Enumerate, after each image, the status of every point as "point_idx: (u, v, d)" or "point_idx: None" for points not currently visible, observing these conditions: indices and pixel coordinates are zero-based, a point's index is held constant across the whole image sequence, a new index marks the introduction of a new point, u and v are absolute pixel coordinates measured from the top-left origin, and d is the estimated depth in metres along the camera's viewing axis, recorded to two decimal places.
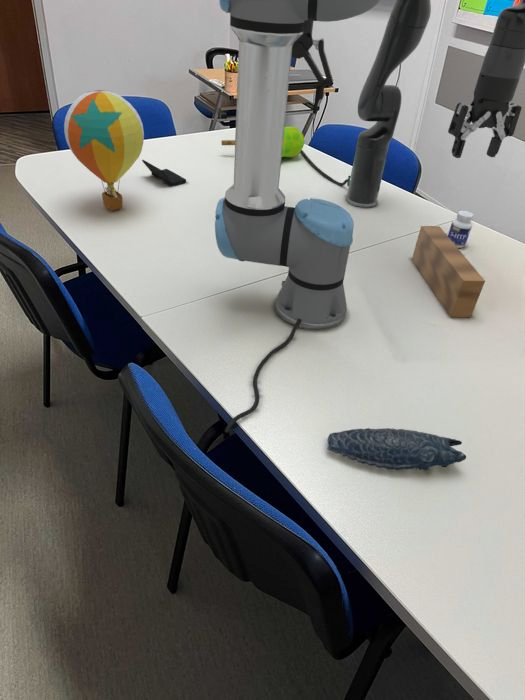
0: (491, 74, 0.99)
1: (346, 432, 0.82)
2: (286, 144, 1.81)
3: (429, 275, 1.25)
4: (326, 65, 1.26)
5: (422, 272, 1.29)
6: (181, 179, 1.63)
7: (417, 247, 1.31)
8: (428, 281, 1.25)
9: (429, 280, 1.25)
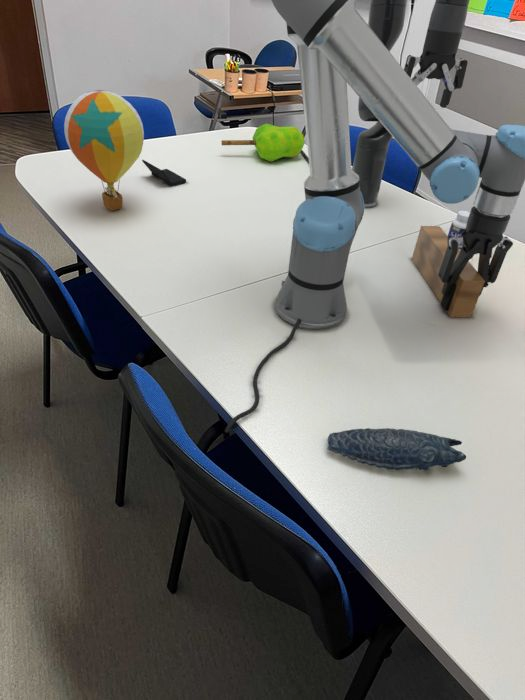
0: (434, 28, 1.13)
1: (346, 432, 0.82)
2: (286, 144, 1.81)
3: (429, 275, 1.25)
4: (500, 265, 1.10)
5: (422, 272, 1.29)
6: (181, 179, 1.63)
7: (417, 248, 1.31)
8: (428, 281, 1.25)
9: (429, 280, 1.25)
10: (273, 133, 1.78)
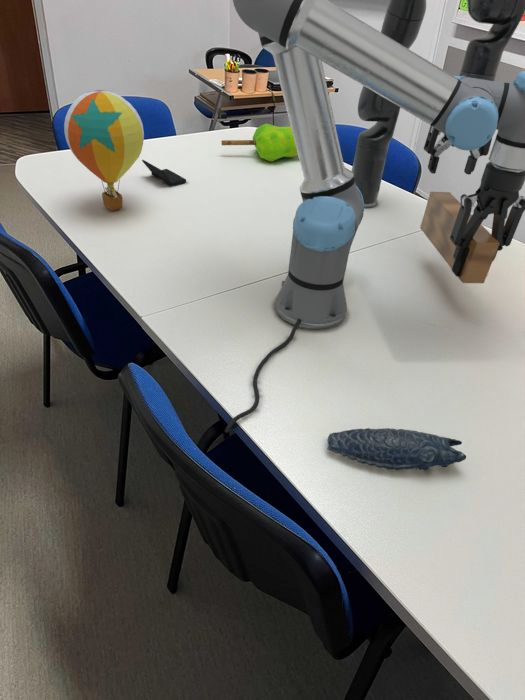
0: None
1: (346, 432, 0.82)
2: (286, 144, 1.81)
3: (439, 242, 1.19)
4: (515, 227, 1.04)
5: (431, 240, 1.23)
6: (181, 179, 1.63)
7: (426, 215, 1.26)
8: (438, 248, 1.20)
9: (439, 247, 1.19)
10: (273, 133, 1.78)
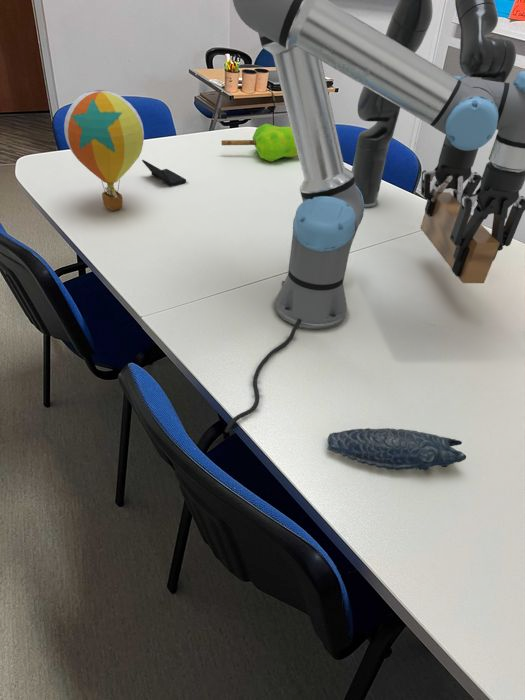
0: (450, 145, 1.12)
1: (346, 432, 0.82)
2: (286, 144, 1.81)
3: (439, 242, 1.19)
4: (515, 227, 1.04)
5: (432, 240, 1.23)
6: (181, 179, 1.63)
7: (426, 215, 1.26)
8: (438, 248, 1.20)
9: (439, 247, 1.19)
10: (273, 133, 1.78)
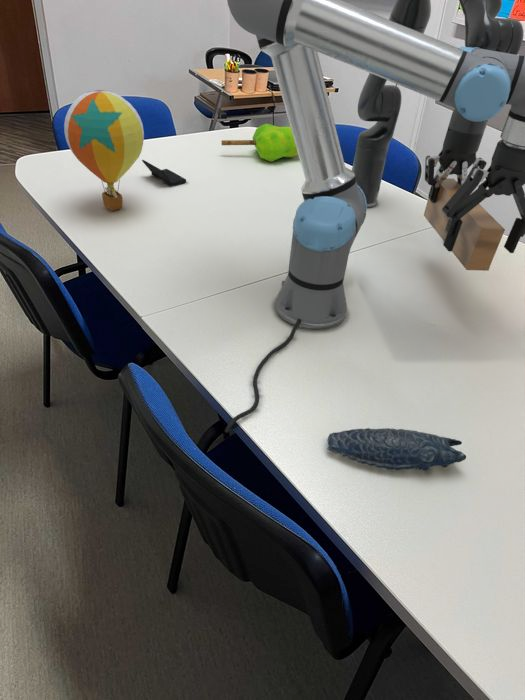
0: (455, 129, 1.10)
1: (346, 432, 0.82)
2: (286, 144, 1.81)
3: (443, 229, 1.18)
4: None
5: (435, 227, 1.21)
6: (181, 179, 1.63)
7: (429, 202, 1.24)
8: (442, 235, 1.18)
9: (443, 234, 1.18)
10: (273, 133, 1.78)
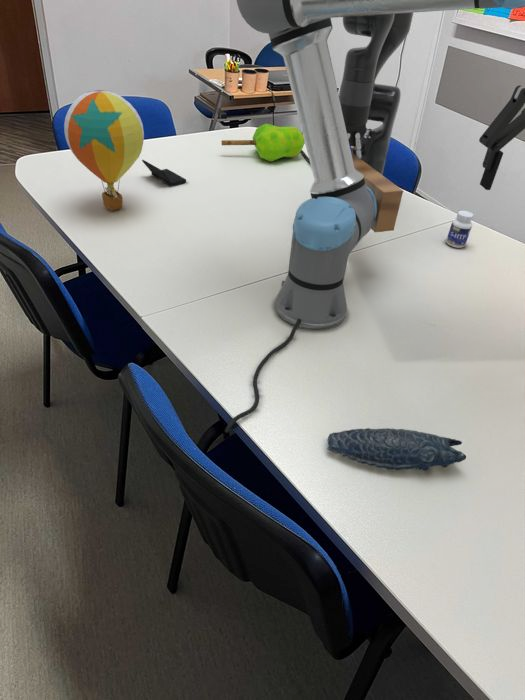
0: (345, 103, 1.18)
1: (346, 432, 0.82)
2: (286, 144, 1.81)
3: None
4: None
5: None
6: (181, 179, 1.63)
7: None
8: None
9: None
10: (273, 133, 1.78)
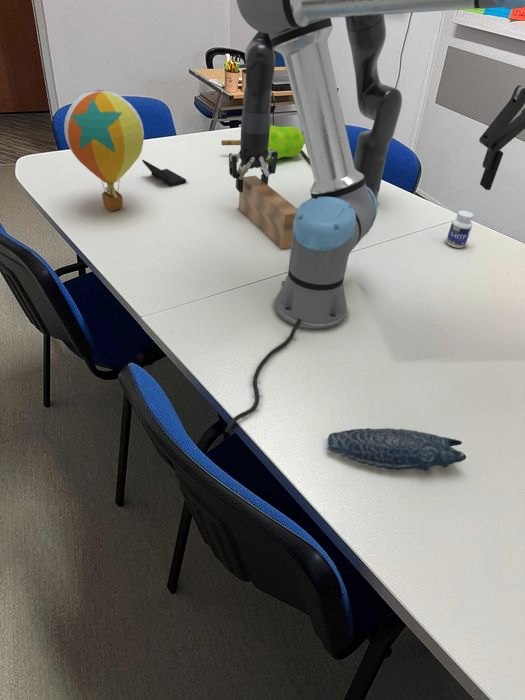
0: (247, 131, 1.33)
1: (346, 432, 0.82)
2: (286, 144, 1.81)
3: (257, 218, 1.42)
4: None
5: (250, 217, 1.46)
6: (181, 179, 1.63)
7: (241, 197, 1.48)
8: (257, 224, 1.43)
9: (257, 223, 1.42)
10: (273, 133, 1.78)
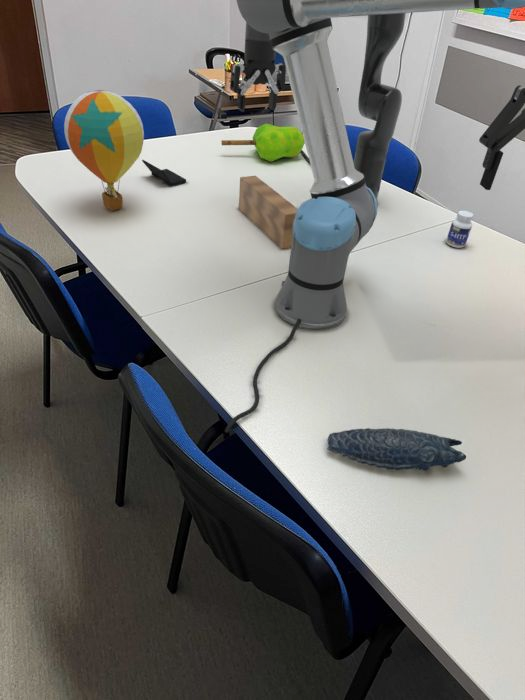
0: (252, 38, 1.20)
1: (346, 432, 0.82)
2: (286, 144, 1.81)
3: (257, 218, 1.42)
4: None
5: (250, 217, 1.46)
6: (181, 179, 1.63)
7: (241, 197, 1.48)
8: (257, 224, 1.43)
9: (257, 223, 1.42)
10: (273, 133, 1.78)
